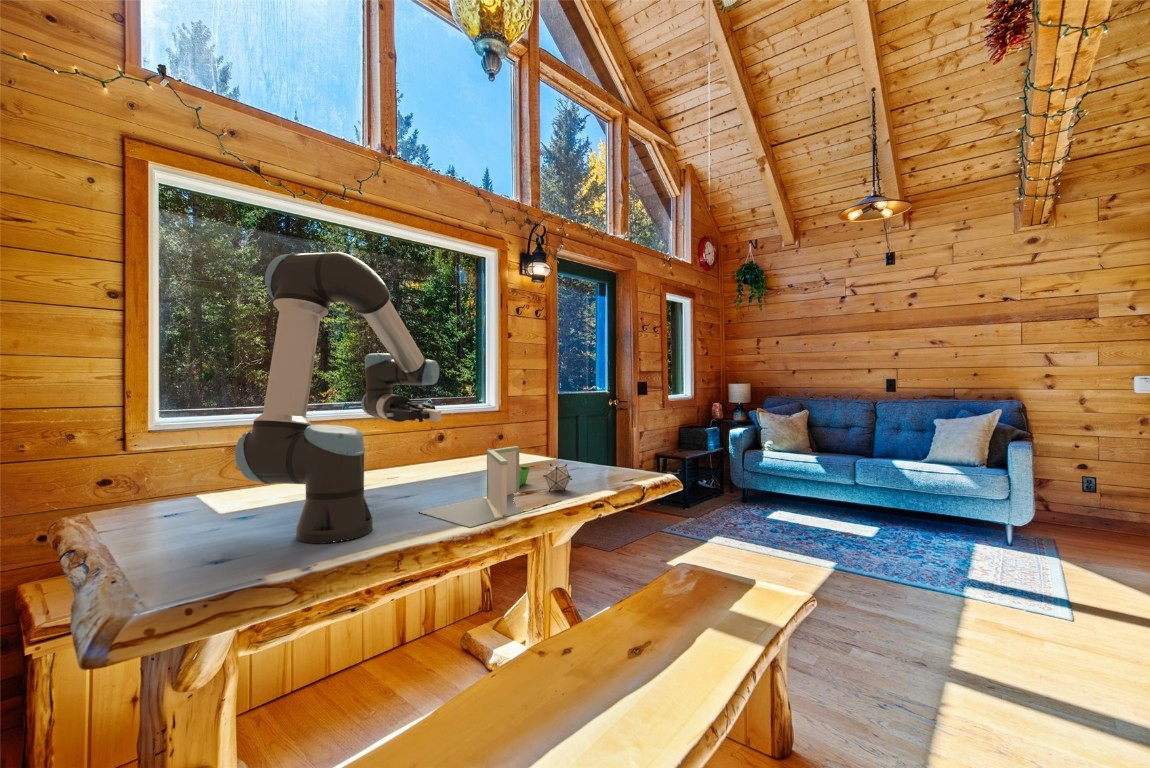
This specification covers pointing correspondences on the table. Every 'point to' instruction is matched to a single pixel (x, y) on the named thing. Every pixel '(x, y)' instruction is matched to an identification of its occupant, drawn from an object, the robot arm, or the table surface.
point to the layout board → (473, 511)
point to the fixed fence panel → (511, 467)
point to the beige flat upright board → (497, 480)
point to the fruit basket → (523, 474)
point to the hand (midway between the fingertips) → (438, 416)
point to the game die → (557, 477)
